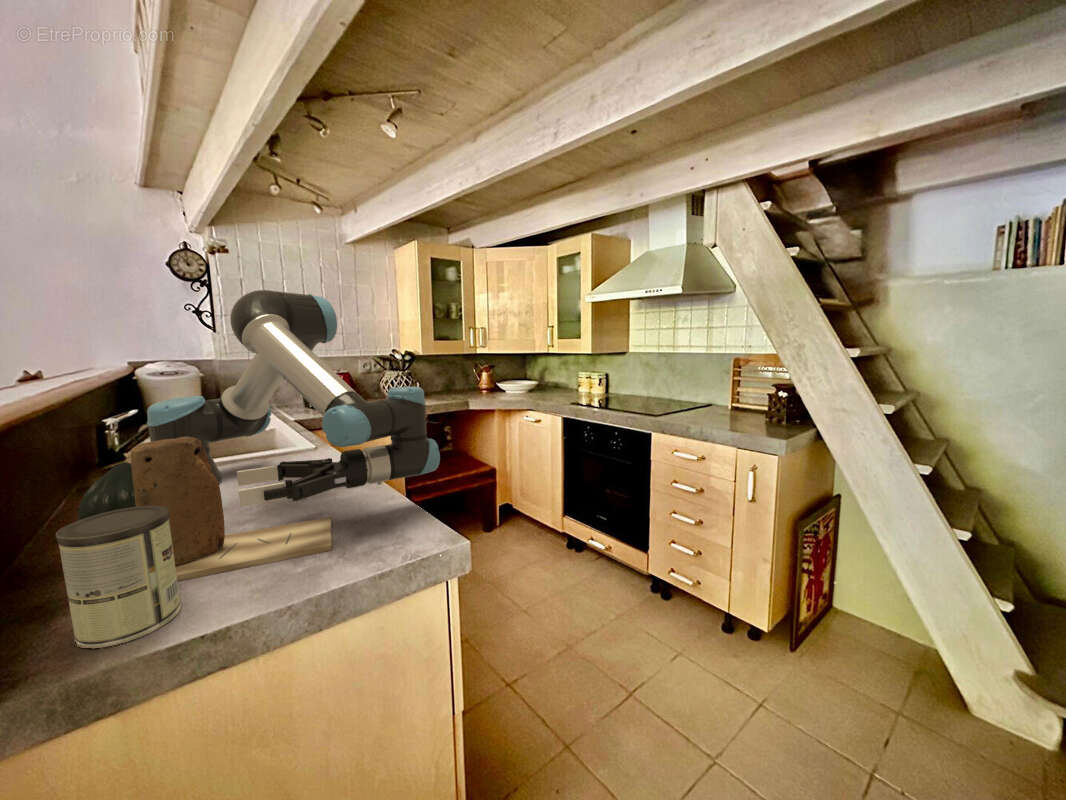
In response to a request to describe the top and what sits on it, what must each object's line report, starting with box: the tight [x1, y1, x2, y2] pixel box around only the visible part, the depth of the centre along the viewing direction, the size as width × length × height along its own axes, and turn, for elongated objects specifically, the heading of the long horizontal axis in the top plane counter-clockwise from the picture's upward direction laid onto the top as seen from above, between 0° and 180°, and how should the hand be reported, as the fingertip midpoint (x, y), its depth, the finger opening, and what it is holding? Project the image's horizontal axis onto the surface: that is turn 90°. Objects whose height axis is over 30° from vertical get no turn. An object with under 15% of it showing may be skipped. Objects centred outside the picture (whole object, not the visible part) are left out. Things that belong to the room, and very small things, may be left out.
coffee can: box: [55, 505, 182, 647], centre depth 55 cm, size 10×10×14 cm
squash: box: [77, 461, 136, 521], centre depth 82 cm, size 14×15×15 cm
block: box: [130, 436, 226, 566], centre depth 71 cm, size 11×8×20 cm
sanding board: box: [175, 516, 333, 582], centre depth 75 cm, size 14×28×1 cm, turn 116°
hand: (238, 488), depth 75 cm, fingers open, 13 cm apart
